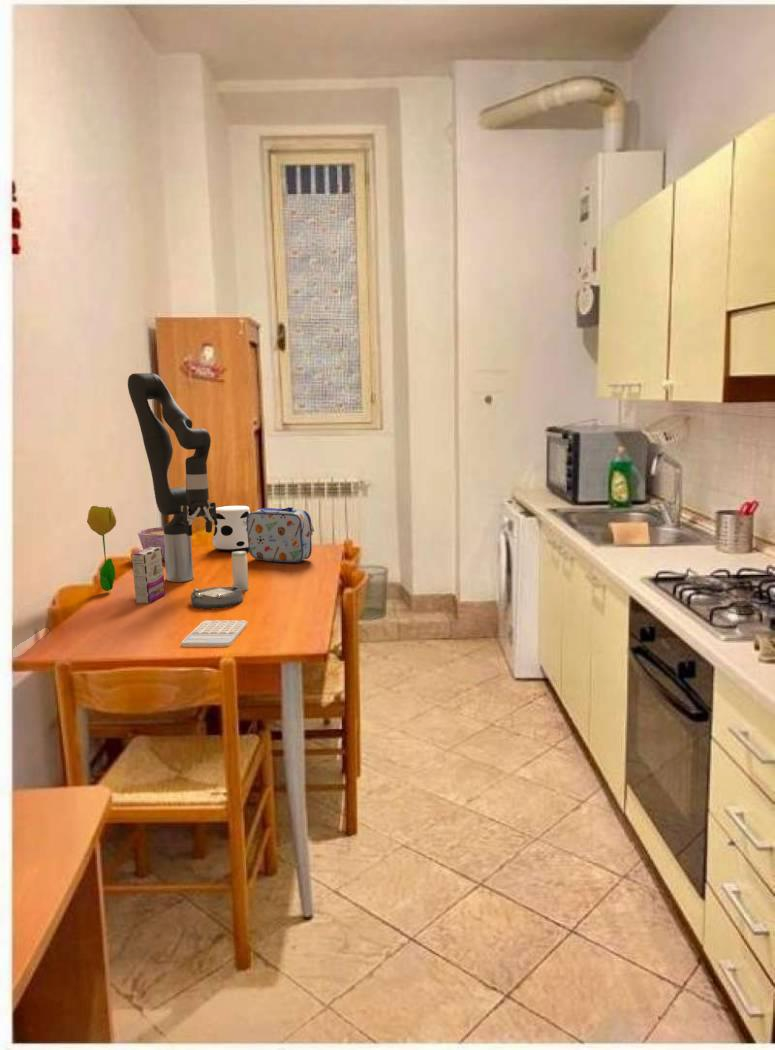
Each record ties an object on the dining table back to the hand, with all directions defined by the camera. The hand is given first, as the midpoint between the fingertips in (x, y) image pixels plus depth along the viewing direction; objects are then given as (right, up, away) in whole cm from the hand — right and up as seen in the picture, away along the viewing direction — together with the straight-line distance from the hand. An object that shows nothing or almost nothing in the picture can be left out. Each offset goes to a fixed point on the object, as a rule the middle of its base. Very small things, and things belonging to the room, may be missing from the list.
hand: (199, 533), depth 264 cm
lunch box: (+23, -11, +40) cm, 48 cm away
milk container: (-1, -8, +65) cm, 66 cm away
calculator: (+18, -28, -54) cm, 63 cm away
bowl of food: (-26, -11, +51) cm, 58 cm away
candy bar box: (-12, -21, -14) cm, 29 cm away
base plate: (+11, -22, -20) cm, 31 cm away
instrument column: (+15, -19, -4) cm, 25 cm away
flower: (-30, -20, -4) cm, 36 cm away
